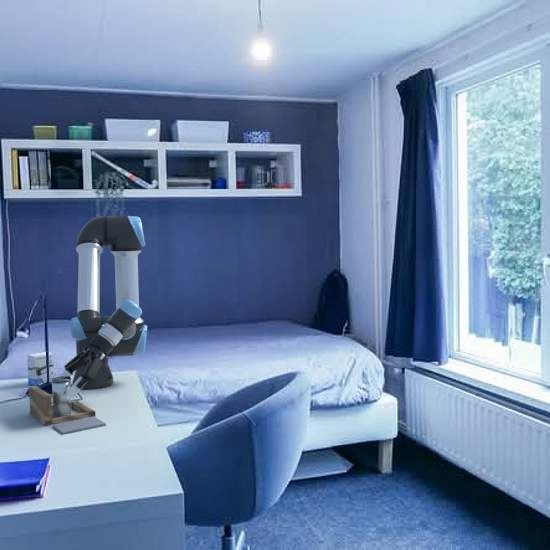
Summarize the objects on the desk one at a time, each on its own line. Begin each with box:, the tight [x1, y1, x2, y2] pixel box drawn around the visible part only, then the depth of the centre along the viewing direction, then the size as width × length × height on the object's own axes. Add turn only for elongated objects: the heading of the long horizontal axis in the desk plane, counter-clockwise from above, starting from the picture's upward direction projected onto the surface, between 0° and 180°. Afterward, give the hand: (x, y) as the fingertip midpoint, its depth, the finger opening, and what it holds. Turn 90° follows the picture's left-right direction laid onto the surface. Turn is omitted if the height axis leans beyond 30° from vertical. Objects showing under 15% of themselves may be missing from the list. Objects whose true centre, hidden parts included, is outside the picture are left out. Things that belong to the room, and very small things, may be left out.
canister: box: [51, 375, 73, 418], centre depth 197 cm, size 6×6×12 cm
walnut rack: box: [28, 385, 96, 427], centre depth 197 cm, size 16×16×9 cm
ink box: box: [27, 351, 55, 386], centre depth 239 cm, size 8×5×12 cm, turn 143°
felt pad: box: [52, 416, 107, 435], centre depth 185 cm, size 13×9×1 cm
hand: (62, 391), depth 196 cm, fingers open, 13 cm apart
